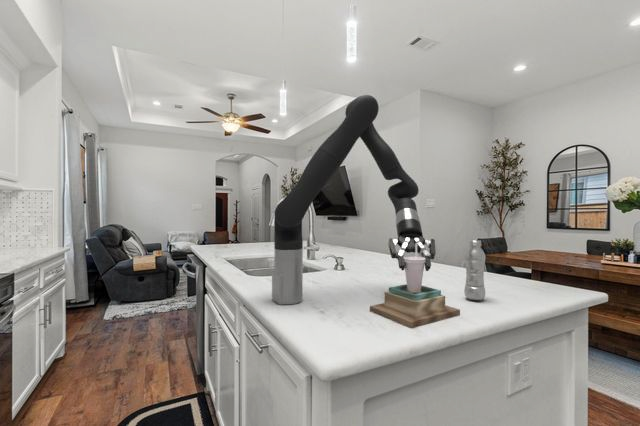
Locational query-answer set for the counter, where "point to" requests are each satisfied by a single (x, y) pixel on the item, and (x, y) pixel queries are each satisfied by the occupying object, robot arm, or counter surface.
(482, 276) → the plastic bottle
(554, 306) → the counter surface
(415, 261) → the smoothie
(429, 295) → the pedestal
